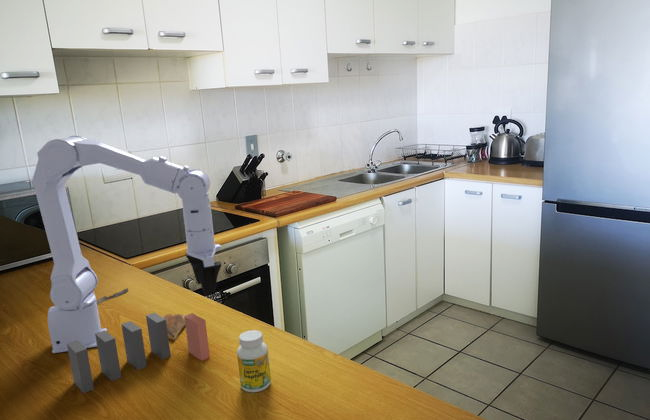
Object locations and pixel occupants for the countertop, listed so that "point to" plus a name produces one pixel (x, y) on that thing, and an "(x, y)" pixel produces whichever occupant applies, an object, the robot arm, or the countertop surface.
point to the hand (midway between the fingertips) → (206, 288)
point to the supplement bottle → (253, 362)
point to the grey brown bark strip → (111, 296)
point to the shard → (174, 324)
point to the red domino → (197, 336)
